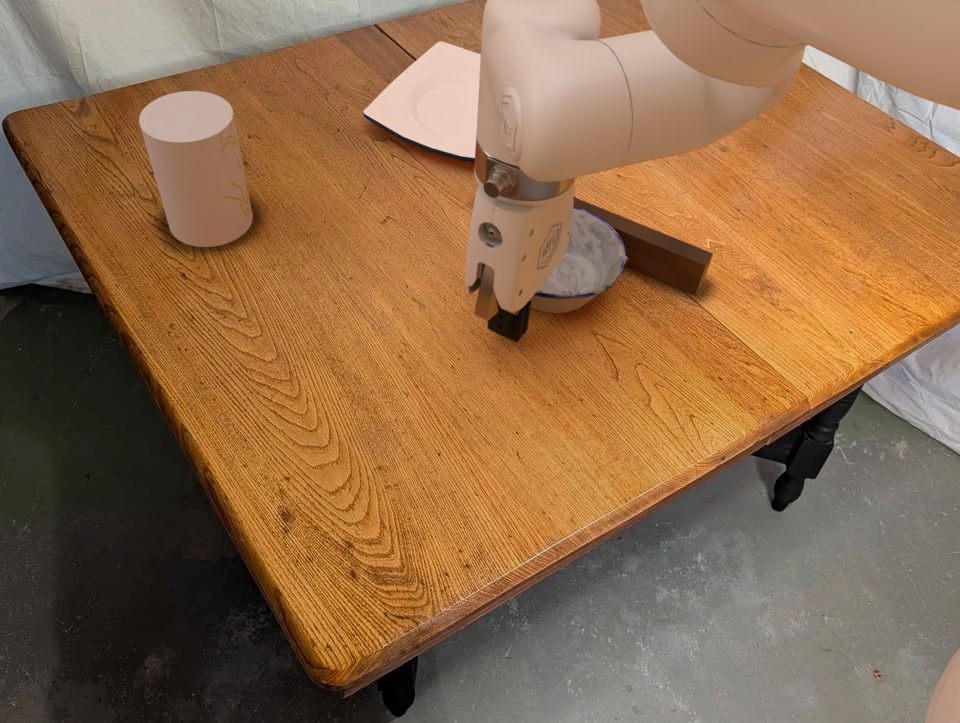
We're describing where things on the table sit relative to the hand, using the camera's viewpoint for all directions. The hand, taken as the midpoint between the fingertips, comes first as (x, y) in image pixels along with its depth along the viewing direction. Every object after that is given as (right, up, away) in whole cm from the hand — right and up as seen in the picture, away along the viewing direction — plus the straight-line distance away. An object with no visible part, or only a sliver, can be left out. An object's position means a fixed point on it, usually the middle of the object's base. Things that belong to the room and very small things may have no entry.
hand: (507, 330), depth 76 cm
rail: (+9, +9, +11) cm, 16 cm away
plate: (-3, +26, +24) cm, 36 cm away
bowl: (+5, +5, +6) cm, 9 cm away
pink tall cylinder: (-29, +11, +10) cm, 33 cm away
